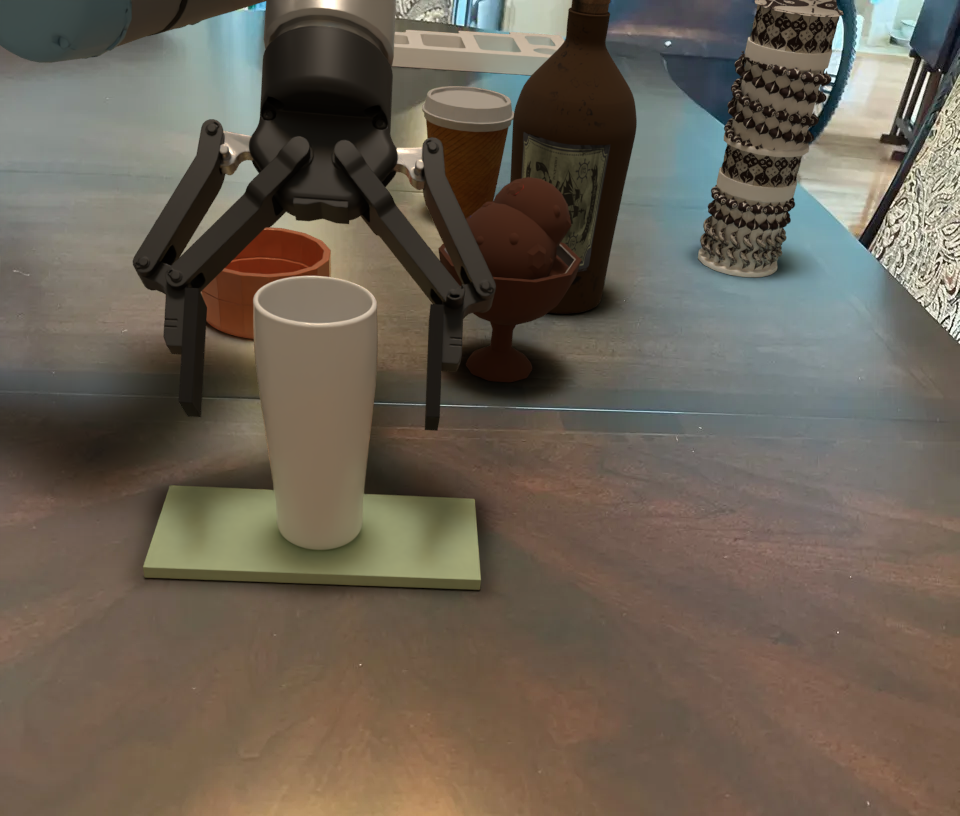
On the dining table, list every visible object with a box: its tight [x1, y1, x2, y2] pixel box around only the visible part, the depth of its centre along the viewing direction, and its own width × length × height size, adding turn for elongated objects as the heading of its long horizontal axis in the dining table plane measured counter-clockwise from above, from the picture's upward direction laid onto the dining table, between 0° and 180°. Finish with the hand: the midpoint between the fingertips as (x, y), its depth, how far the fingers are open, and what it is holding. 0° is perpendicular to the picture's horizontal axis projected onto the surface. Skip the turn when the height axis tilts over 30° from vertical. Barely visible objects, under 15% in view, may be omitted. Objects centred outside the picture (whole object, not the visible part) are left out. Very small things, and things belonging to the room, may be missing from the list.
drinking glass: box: [253, 276, 379, 550], centre depth 61 cm, size 7×7×15 cm
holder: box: [392, 29, 565, 76], centre depth 172 cm, size 45×18×3 cm, turn 96°
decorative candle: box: [697, 0, 845, 278], centre depth 103 cm, size 9×9×25 cm
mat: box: [142, 484, 482, 591], centre depth 66 cm, size 20×9×1 cm, turn 93°
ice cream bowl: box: [437, 177, 581, 383], centre depth 83 cm, size 11×11×15 cm
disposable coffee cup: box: [421, 85, 514, 218], centre depth 111 cm, size 10×10×12 cm
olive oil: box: [509, 0, 638, 315], centre depth 92 cm, size 11×11×25 cm
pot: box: [201, 226, 332, 340], centre depth 90 cm, size 11×11×6 cm
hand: (312, 417), depth 60 cm, fingers open, 13 cm apart
